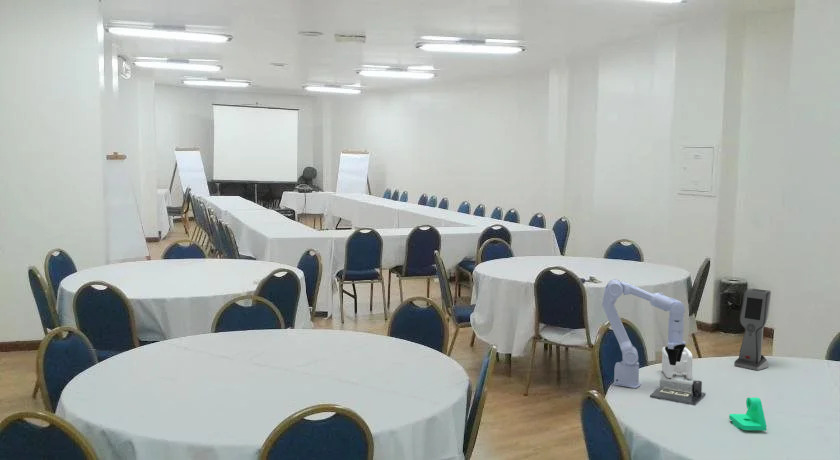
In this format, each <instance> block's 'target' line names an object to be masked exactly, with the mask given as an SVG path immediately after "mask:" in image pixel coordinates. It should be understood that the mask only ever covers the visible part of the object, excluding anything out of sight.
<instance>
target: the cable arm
mask: <svg viewBox="0 0 840 460" xmlns="http://www.w3.org/2000/svg"><path fill="white" fill-rule="evenodd" d="M702 385H703V382H702V381H700V380H693V381H692V382H690V381H684V380H678V379H673V378H667V377H666V378H664V377H661V378H660V379H659V388H663V389H669V390H675V391H681V392H687V393H693V395H694V396H701V395H702V392H703V389H702V388H703V386H702Z"/></svg>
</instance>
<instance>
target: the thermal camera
mask: <svg viewBox="0 0 840 460" xmlns="http://www.w3.org/2000/svg"><path fill="white" fill-rule="evenodd" d="M771 296H772V291H771V290H765V289H758V288H748V289H745V290H744V293H743V297H742V304H741V310H740V313H739V323H740V325H741V327H743V328H744V335H743V339H742V343H741V345H740V350H739V355H738V358H737V359H736V360H735V361H734V363H733V365H734V367H739V368H743V369H746V370H747V369H748V370H752V371H758V372H759V371H761V370H764V369H767V368H769V363H768V360H767V359H766V357H765V356H764V355H763V354H762V350H763V341H764V340H763V339H764V338H763V337H764V327H765V325H766V324H767V321H768V318H769V315H770V314H769V313H770V306H771V299H772V298H771Z"/></svg>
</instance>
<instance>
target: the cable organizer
mask: <svg viewBox="0 0 840 460" xmlns="http://www.w3.org/2000/svg"><path fill="white" fill-rule="evenodd" d="M665 347H666V346H663V347H662V348H661V353H662V356H661V369H662V372H663V374H664V375H665V376H666V379H673V375H674V376H676V374H682V376H685V378H687V379H688V380H691V379H692V378H693V360H694V359H693V354H692V352H691V351H690V350H689V349H688V348H687V347H686V346H685V348H684V350H683V352H682V356H681V360H680V362H676V365H670V363H669V358H668V354H667V352H666V350H665Z"/></svg>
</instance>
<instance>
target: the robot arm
mask: <svg viewBox="0 0 840 460" xmlns="http://www.w3.org/2000/svg"><path fill="white" fill-rule="evenodd" d="M622 294H623V296H627V295H633V296H635V297H637V298H641V299H643V300H646V301H647V302H648V301H649V303H650V305H651V306H653V307H654V308H657V309H660V310H662V311H664V312H669V315H668V316H669V317H668V329H667V330H668V331H667V333H668V334H667V337H668V338H667V346H664V347H665V350H666V352H667V354H668V358H669V363H670V365H676V362H680V360H681V356H682V352H683V350H684V348H685V347H686V345H687V341H684V323H685V321H684V314H685V311H686V309H685V306H684V304H683V303H682V301H680V300H678V299H675V297H669V296H666V295H665V294H664V293H663V292H661V291H660V292H653V293H651V292H649V291H647V290H644V289H642V288H641V287H638V286H636V285H633V284H631V283H628V282H625V281H622V280H621V281H620V280H619V279H616V278H613V279H610V280H609V281H608V282H607V284H606V286H605V287H604V292H603V297H602V301H601V306H602V308H603V311H604V313H605V315H606V317H607V319H608V323H609V324H610V327H611V329H612V330H613V334H614V336H615V338H616V340H617V342H618V345H619V348H620V351H621V355H622V359H621V361H619V362H618V361H617V362H615V365H614V369H613V370H614V377H613V380H614V381H613V385H614V386H619V387H620V386H621V387H625V388H632V389H637V388H639V387H640V386H641V385H643V384H642V382H640V381H639V379H640V378H639V377H640V373H639V372H640V362H639V353H638V350H637V348H636V347H635V345H633V344H632V342H631V340H630V338H629V336H628V333H627V331H626V329H625V327H624V324H623V322H622V319H621V317H620V315H619V313H618V310H617V309H616V306H615V304H616V302H617V300H618V299H619V298H620V297H621V296H622Z"/></svg>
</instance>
